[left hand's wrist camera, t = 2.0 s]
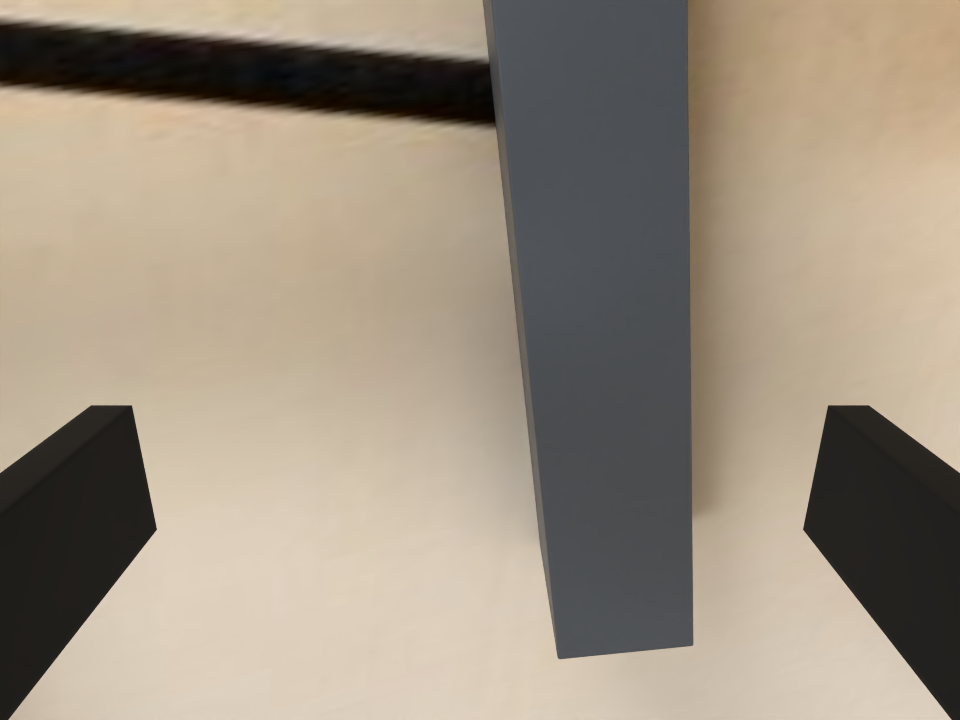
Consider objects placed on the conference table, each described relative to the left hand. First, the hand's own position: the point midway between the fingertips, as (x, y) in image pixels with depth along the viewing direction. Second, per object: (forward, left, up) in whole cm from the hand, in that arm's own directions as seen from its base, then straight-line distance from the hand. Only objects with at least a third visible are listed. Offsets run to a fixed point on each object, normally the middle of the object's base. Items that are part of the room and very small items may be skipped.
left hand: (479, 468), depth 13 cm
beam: (+15, +10, -18) cm, 25 cm away
